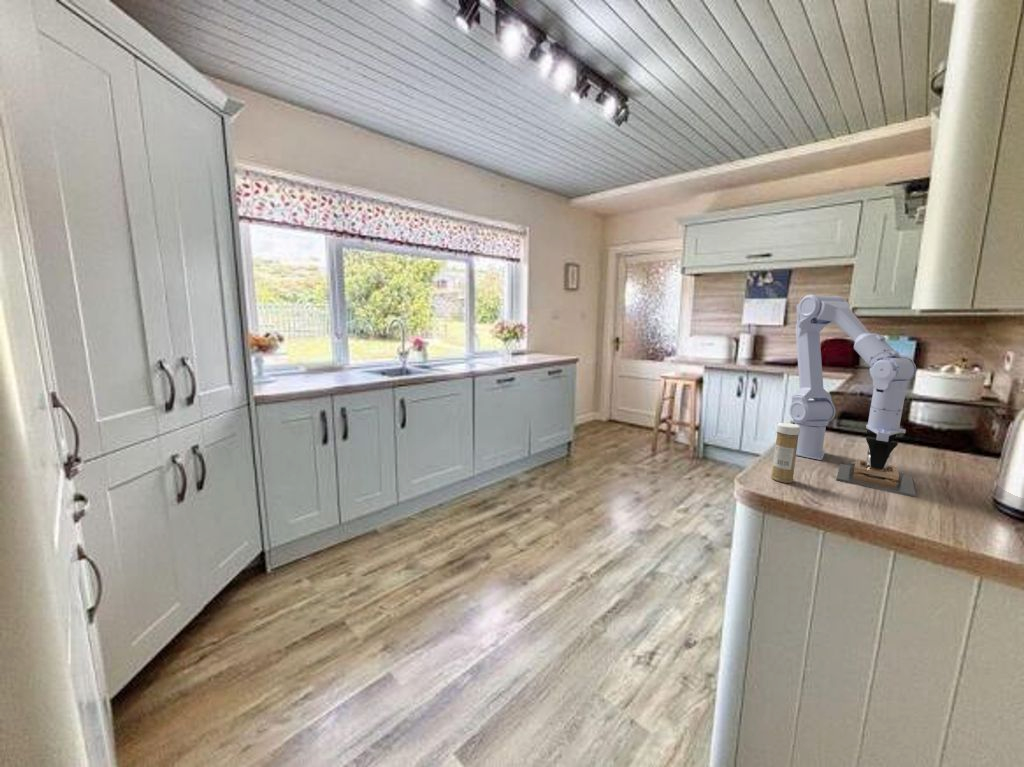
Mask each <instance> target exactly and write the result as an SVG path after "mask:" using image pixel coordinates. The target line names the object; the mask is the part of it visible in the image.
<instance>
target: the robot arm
mask: <svg viewBox="0 0 1024 767" xmlns="http://www.w3.org/2000/svg"><path fill="white" fill-rule="evenodd" d="M850 306H851V303H849V302H847V301H846V300H845V298H844V297H843V296H842V295H841V296H840V295H816V294H807V295H805V296H804V297H803V298H802V299H801V300H800V301H799V302H798V304H797V305H796V324H795V338H796V354H797V355H796V356H797V366H798V367H797V369H798V381H799V383H798V384H799V389H798V390H797V391H796V392H795V393H794V394H792V396H791V403H790V406H789V415H790V418H791V419H792V423H794V424H795V425H798V426H800V434H799V436H798V443H797V451H796V457H797V456H798V457H804V458H809V459H814V460H817V461H818V460H819V461H822V460H823V459H824V456H825V453H826V451H825V450H823V448H824V441H825V435H826V427H827V426H828V425H829V422H831V421H833V419H835V416H836V407H835V405H834V403H833V401H832V400H833V399H832V394H830V393H829V392H828V391H827V390H826V389H825V388H824V379H823V366H822V365H823V364H822V352H821V351H822V350H821V349H822V348H821V337H820V332H822V330H823V329H824V328H826V327H827V326H829V325H831V324H833V323H835V324H836V325H837V327H839V328H840V329H841V330H842V331H843V332H844V333H845V334H846V335H847V336H848V337H850V338H851V339H852V341H853V342H854V343H853V344H854V345H853V350H854V351H855V352H856V353H857V354H858V355H859V356H860V357H861V358H862V359H863V360H864V361H865V363H866V364H867V365H868V366H869V375H870V377H871V379H872V386H873V391H872V397H871V401H870V402H871V403H870V408H869V414H868V415H869V416H868V422H867V424H866V425H865V426H866V433H867V435H866V437H865V441H866V443H867V445H868V448H869V449H870V464H871V468H876V469H881V470H882V469H883V468H884V466H885V464H886V461H887V459H888V457H889V455H890V456H891V453H892V451H893V450H894V449H895V448H897V446H898V444H899V443H898V442H897V441H893V440H894V439H895V438H896V437H897V434H906V432H907V430H906V428H900V425H901V421H902V420H901V419H902V414H903V410H904V402H905V398H906V393H907V387H908V382H909V381H912V380H913V378H915V376H916V375H917V374H916V373H917V366H916V363H915V362H914V360H913V359H912V358H910V357H907V356H901V355H900V352H899V351H898V350H895V349H893V347H892V346H891V345H890V344H889V343H888V342H887V341H886V339H887V337H885V336H884V335H883V334H879V333H875V332H874V333H873V332H872V333H870V331H868V329H867V328H866V326H865V325H864V324H863V323H862V322H861V321H860V320H859V318H858V317H857V316H856V315H855V313H854V312H853V311H852V310H851V308H850ZM889 458H890V457H889Z"/></svg>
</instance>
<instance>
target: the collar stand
mask: <svg viewBox="0 0 1024 767" xmlns="http://www.w3.org/2000/svg"><path fill="white" fill-rule="evenodd" d="M862 466H863V467H862ZM865 466H866V460H863V459H862V460H861V459H855V461H851V462H850V465H848V464H843V463H839V467H838V471H837V475H836V481H838V482H843V483H848V484H851V485H852V484H853V485H856V486H862V487H866V488H872V489H876V490H881V491H886V492H890V493H895V494H899V495H904V496H909V497H913V498H915V497H916V491H915V486H914V482H913V478H912V476H906V475H904V472H903V470H899V467H898V466H895V465H894V466H893V465H890V464H888V467H887V472H882V471H877V470H872V469H866V468H865ZM889 471H890V472H889ZM864 473H865V474H870V475H875V476H880V477H885V479H881V478H876V477H871V476H866V475H864Z"/></svg>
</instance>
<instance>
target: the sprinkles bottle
mask: <svg viewBox="0 0 1024 767" xmlns="http://www.w3.org/2000/svg"><path fill="white" fill-rule="evenodd" d="M799 434H800V426H798V425H795V423H789V422H779V423H777V426H776V440H775V446H774V447H775V448H774V451H773V452H774V453H773V460H772V471H771V472H772V473H771V475H770V477H771V479H772V480H774V481H776V482H779V483H786V484H790V483H793V481H794V475H795V474H794V473H795V468H796V459H797V455H796V451H797V443H798V436H799Z"/></svg>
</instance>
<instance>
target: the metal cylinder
mask: <svg viewBox="0 0 1024 767" xmlns="http://www.w3.org/2000/svg"><path fill="white" fill-rule="evenodd" d="M890 457H891V454H890V455H889V457H888V459H887V461H886V464H885V466H884V468H883V469H882V470H881V469H876V468H871V464H870V449H869V447H868V449H867V456H866V460H865V461H866V466H864V468H866V469H872V470H877V471H882V472H888V470H887V467H888V465H889V460H890ZM864 475H866V476H871V477H876V478H881V479H885V477H880V476H875V475H870V474H865V473H864Z"/></svg>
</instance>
